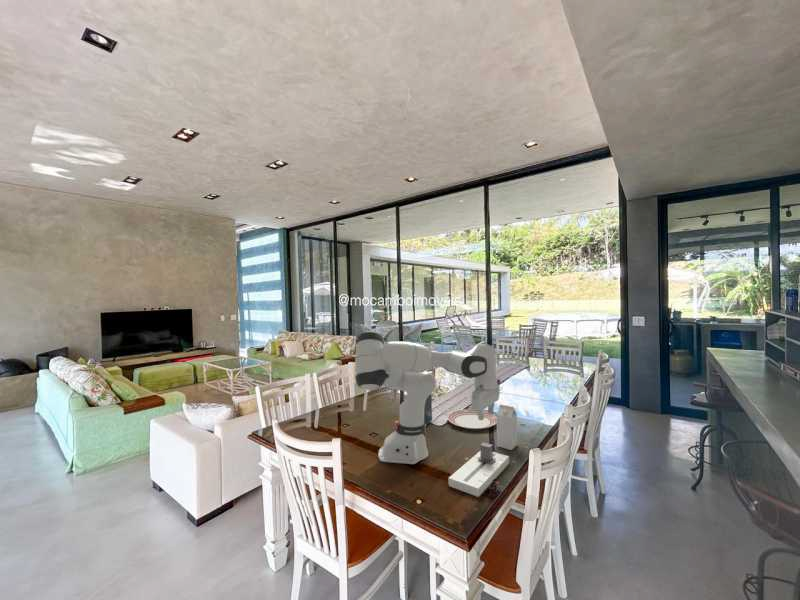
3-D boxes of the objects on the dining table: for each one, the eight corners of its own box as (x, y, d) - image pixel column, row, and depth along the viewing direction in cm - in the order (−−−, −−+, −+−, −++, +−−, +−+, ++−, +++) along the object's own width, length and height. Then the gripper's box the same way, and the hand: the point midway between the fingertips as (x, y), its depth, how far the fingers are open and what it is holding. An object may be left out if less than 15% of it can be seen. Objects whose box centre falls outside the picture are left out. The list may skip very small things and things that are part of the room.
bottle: (425, 425, 188) (424, 371, 188) (411, 420, 194) (410, 368, 194) (435, 420, 195) (434, 368, 195) (421, 416, 202) (421, 366, 201)
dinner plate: (499, 434, 174) (499, 428, 174) (446, 431, 179) (446, 425, 179) (495, 416, 200) (495, 410, 200) (449, 413, 206) (449, 408, 206)
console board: (478, 497, 119) (478, 488, 119) (448, 485, 126) (448, 477, 126) (509, 463, 143) (509, 456, 143) (482, 455, 150) (482, 448, 150)
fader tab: (491, 463, 136) (491, 448, 136) (477, 459, 139) (477, 444, 139) (495, 459, 139) (495, 444, 139) (482, 455, 143) (481, 441, 143)
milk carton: (502, 441, 165) (502, 402, 165) (517, 445, 160) (516, 405, 160) (496, 446, 159) (496, 406, 159) (511, 450, 155) (511, 409, 155)
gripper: (481, 389, 129) (482, 425, 129) (502, 379, 145) (502, 411, 145) (466, 387, 133) (467, 422, 133) (488, 377, 149) (488, 408, 149)
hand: (485, 416), depth 139 cm, fingers open, 8 cm apart
